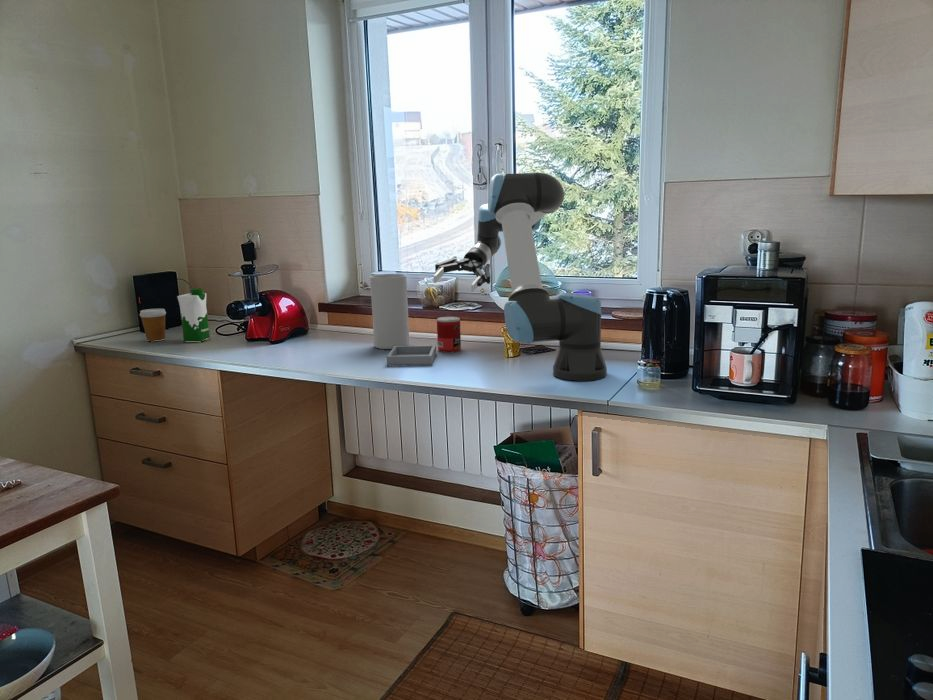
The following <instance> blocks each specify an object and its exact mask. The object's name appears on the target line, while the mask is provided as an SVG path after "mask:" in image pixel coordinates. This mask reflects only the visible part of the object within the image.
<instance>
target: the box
mask: <svg viewBox="0 0 933 700" xmlns="http://www.w3.org/2000/svg"><path fill="white" fill-rule="evenodd" d="M436 356H437V345H435V344H430V345H426V344H425V345H409V346H394V347H393V348H392V350H390V352H389V353H388V354H387V355H386V366H387V367H396V366H395V365H419V366H433V364H432V363H434V361H435V359H434V358H436ZM389 365H391V366H389ZM392 365H394V366H392Z"/></svg>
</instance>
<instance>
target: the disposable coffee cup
mask: <svg viewBox="0 0 933 700" xmlns="http://www.w3.org/2000/svg"><path fill="white" fill-rule="evenodd" d="M139 312H140V313H139V314H138V315H139V316H140V319H141V322H142V326H143V329H144V333H145V338H146V340H149V341H154V340H161V339H164V338H165V339H166V314H167V311H166V309H165V308H149V309H147V308H146V309H142V310H140V311H139Z"/></svg>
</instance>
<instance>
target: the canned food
mask: <svg viewBox="0 0 933 700" xmlns="http://www.w3.org/2000/svg"><path fill="white" fill-rule="evenodd" d="M436 331H437V332H436V337H437V350H438V351H439V352H440V351H441V353H457V352H460V351H459V350H461V348H462V346H461V345H462V342H461V339H462V338H461V337H462V336H461V333H462V332H461V318H460V317H457V316H441V317H437V319H436ZM456 351H457V352H456Z"/></svg>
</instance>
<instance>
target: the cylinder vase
mask: <svg viewBox="0 0 933 700" xmlns="http://www.w3.org/2000/svg"><path fill="white" fill-rule="evenodd" d="M369 281H370V300H371V314H372V315H371V316H372V332H373V335H372V336H373V346H374V347H375V348H376V349H378V348H379V350H384V349H392V348H393V347H394V346H410V327H409V326H410V325H409V322H410V321H409V306H408V305H409V303H408V282H407V281H408V280H407V274H403V273H402V274H401V273H387V274H386V273H385V274H376V275H375V274H374V275H370V276H369Z"/></svg>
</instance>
